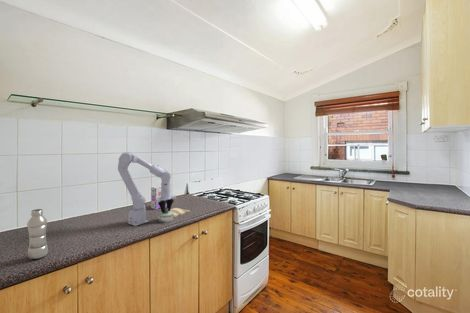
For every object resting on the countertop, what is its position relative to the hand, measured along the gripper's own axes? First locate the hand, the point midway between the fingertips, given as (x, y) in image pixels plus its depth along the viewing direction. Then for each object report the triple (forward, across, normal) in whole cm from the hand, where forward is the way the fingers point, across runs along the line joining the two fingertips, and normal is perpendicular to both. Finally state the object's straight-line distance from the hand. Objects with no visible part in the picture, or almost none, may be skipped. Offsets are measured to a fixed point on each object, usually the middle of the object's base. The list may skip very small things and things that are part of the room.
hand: (165, 211), depth 143 cm
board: (+6, +14, +8) cm, 17 cm away
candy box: (+6, +18, +28) cm, 34 cm away
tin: (+6, 0, 0) cm, 6 cm away
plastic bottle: (+6, -62, +5) cm, 62 cm away
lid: (+2, 0, 0) cm, 2 cm away
